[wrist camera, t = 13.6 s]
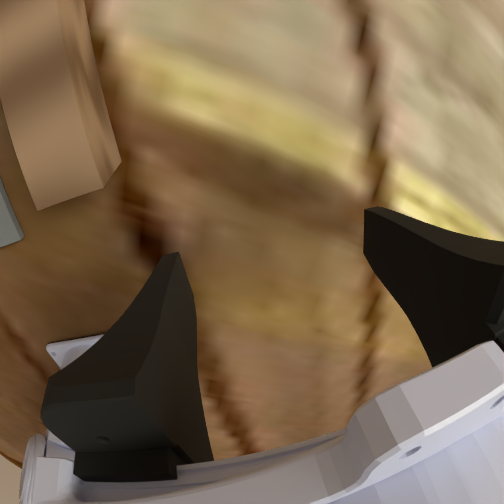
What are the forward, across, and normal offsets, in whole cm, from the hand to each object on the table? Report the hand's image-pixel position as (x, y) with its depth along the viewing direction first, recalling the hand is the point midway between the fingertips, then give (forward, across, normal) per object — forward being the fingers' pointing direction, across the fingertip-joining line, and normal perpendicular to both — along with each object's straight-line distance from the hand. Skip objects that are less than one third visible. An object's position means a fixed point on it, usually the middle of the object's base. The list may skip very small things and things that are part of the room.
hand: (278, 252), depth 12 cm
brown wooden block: (+10, +9, -9) cm, 16 cm away
